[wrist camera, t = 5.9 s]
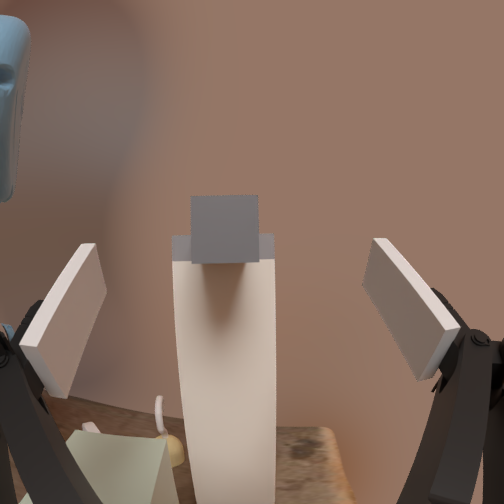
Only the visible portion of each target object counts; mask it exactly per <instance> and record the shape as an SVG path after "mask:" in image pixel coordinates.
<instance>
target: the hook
mask: <svg viewBox="0 0 504 504" xmlns="http://www.w3.org/2000/svg"><path fill="white" fill-rule="evenodd" d="M162 410H163V411H164V398H163V396H161V395H160V396H157V397H156V401H155V418H156V425H157V430H158V432H159V433H161V435H159V436H158V437H156V438H155V439H167V445H168V450H169V456H170V461H171V467H175V466H178V465H180V464H182V463H183V462H184V460H185V455H184V449H183V445H182V443H181V442H180V440H179V439H178V438H176V437H175V436H173V435H169V434H168V432H167V430H166V428H164V424H163V417H162Z"/></svg>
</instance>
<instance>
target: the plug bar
mask: <svg viewBox="0 0 504 504" xmlns="http://www.w3.org/2000/svg"><path fill="white" fill-rule="evenodd" d="M191 261H192V264H211V263H252V262H259V220H258V195H230V196H229V195H228V196H191Z"/></svg>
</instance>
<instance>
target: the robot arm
mask: <svg viewBox="0 0 504 504" xmlns="http://www.w3.org/2000/svg"><path fill="white" fill-rule="evenodd" d="M30 51H31V35H30V31H29V29H28V27H27V25H26V24H25V23H24V22H23V21H22V20H20V19H18V18H16V17H12V16H4V15H0V203H1V202H7V201H8V200H9V199H11V198H12V196H13V194H14V190H15V183H16V176H17V164H18V154H19V142H20V128H21V119H22V113H23V105H24V97H25V89H26V81H27V74H28V67H29V60H30ZM362 286H363V287H364V289H365V291H366V292H367V294H368V295H369V297H370V299H371V300H372V302H373V304H374V305H375V307H376V308H377V310H378V312H379V314H380V316H381V317H382V319H383V320H384V322H385V324H386V325H387V328H388V329H389V331H390V333H391V334H392V336H393V338H394V340H395V341H396V343H397V345H398V347H399V349H400V350H401V352H402V354H403V356H404V358H405V359H406V361H407V363H408V365H409V367H410V369H411V370H412V372H413V374H414V376H415V378H416V380H417V381H422V380H426V379H430V378H432V377H433V376H434V374H435V372H436V371H437V369H438V368H439V369H440V371H441V372H442V375H441V377H440V378H439V380H438V382H437V383H436V384H435V386H434V387H433V389H432V391H431V392H434V391H435V389H436V393H435V397H434V401H433V405H432V408H431V411H430V415H429V418H428V422H427V425H426V428H425V431H424V434H423V437H422V440H421V443H420V446H419V449H418V452H417V455H416V457H415V460H414V463H413V466H412V468H411V471H410V473H409V476H408V478H407V480H406V483H405V485H404V488H403V490H402V492H401V494H400V497H399V499H398V501H397V503H396V504H470V502H471V499H472V495H473V491H474V488H475V484H476V479H477V475H478V471H479V467H480V462H481V457H482V452H483V503H482V504H504V338H503V340H502V342H500V341H491V340H490V338H489V336H487V335H486V334H485V333H484V332H482V331H480V330H476V329H470V328H469V327H468V326H467V325H466V323H465V322H464V321H463V320H462V318H461V317H460V316H459V314H458V313H457V312H456V311H455V309H454V310H453V307H452V306H451V304H449V303H448V301H447V300H446V298H445V297H444V296H443V295H442V294H441V293H440V292H438V291H437V290H435V289H434V288H429V286H428V285H427V284H426V283H425V282H424V281H423V279H422V278H421V277H420V276H419V274H418V273H417V272H416V271H415V270H414V269H413V268H412V267H411V265H410V264H409V263H408V262H407V261H406V260H405V258H404V257H403V256H402V255H401V254H400V253H399V252H398V250H397V249H396V248H395V247H394V246H393V245H392V244H391V243H390V242H389V241H388V240H387V239H386V238H373V241H372V246H371V250H370V255H369V259H368V263H367V268H366V271H365V275H364V279H363V283H362ZM106 293H107V290H106V286H105V282H104V278H103V274H102V270H101V266H100V261H99V257H98V253H97V248H96V244H95V243H93V244H81V245H80V247H79V248H78V249H77V251H76V252H75V254H74V255H73V257H72V258H71V259H70V261H69V263H68V264H67V265H66V267H65V268H64V270H63V271H62V273H61V275H60V276H59V278H58V279H57V281H56V282H55V284H54V285H53V287H52V288H51V290H50V292H49V293H48V295H47V296H46V298H45V300H38V301H37V302H36V303H35V304H34V305H33V306H31V307H30V309H29V310H28V312H27V314H26V315H25V318H24V319H23V320H22V322H21V325H19V327H18V329H17V331H16V332H15V333H14V330H13V328H12V326H10V325H5V324H3V323H0V504H18V503H17V499H16V494H15V489H14V484H13V479H12V473H11V467H10V461H9V453H8V446H9V449H10V452H11V455H12V457H13V460H14V462H15V465H16V467H17V470H18V472H19V475H20V477H21V479H22V481H23V484H24V486H25V488H26V490H27V492H28V495H29V497H30V499H31V501H32V503H33V504H103V503H102V502H101V500H100V499H99V497H98V496H97V494H96V493H95V491H94V490H93V488H92V487H91V485H90V484H89V482H88V481H87V479H86V477H85V476H84V474H83V473H82V471H81V469H80V468H79V466H78V464H77V463H76V461H75V459H74V457H73V456H72V454H71V452H70V450H69V448H68V447H67V445H66V443H65V441H64V439H63V437H62V435H61V433H60V431H59V429H58V427H57V425H56V423H55V421H54V419H53V417H52V415H51V413H50V411H49V409H48V406H47V404H46V402H45V400H44V398H43V397H42V395H41V394H42V391H43V388H44V387H45V389H46V390H47V392H48V394H49V395H50V396H52V397H58V398H64V399H67V398H68V394H69V391H70V388H71V385H72V382H73V379H74V376H75V373H76V370H77V367H78V365H79V362H80V359H81V356H82V353H83V350H84V348H85V345H86V343H87V340H88V337H89V335H90V332H91V330H92V327H93V325H94V322H95V320H96V317H97V315H98V312H99V309H100V307H101V305H102V303H103V300H104V298H105V295H106ZM7 444H8V445H7Z"/></svg>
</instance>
